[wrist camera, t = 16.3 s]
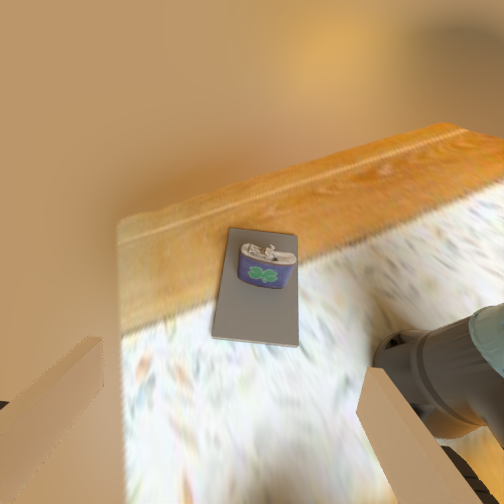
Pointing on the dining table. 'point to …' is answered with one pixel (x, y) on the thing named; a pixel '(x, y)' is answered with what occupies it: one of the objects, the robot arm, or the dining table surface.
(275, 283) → the flask
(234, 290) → the slate board
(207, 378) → the dining table surface
